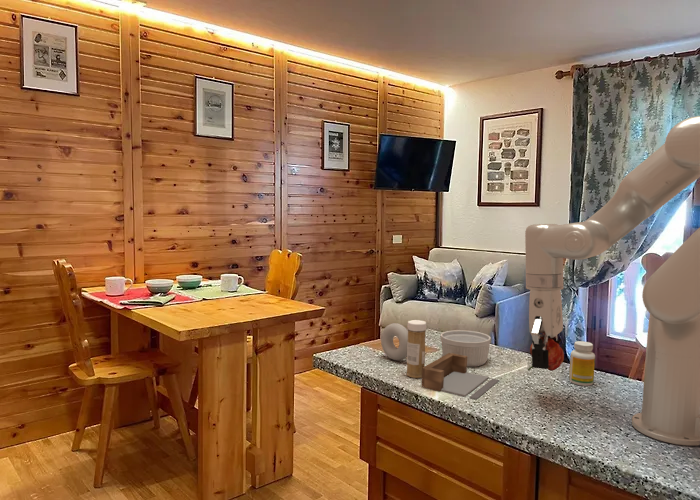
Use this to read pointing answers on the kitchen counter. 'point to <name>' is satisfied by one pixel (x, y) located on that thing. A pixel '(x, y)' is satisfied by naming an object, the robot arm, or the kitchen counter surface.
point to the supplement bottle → (582, 364)
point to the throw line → (484, 389)
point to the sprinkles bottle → (416, 348)
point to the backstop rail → (442, 370)
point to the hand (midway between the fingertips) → (545, 362)
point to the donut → (388, 343)
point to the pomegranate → (553, 354)
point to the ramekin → (467, 345)
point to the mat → (462, 383)
